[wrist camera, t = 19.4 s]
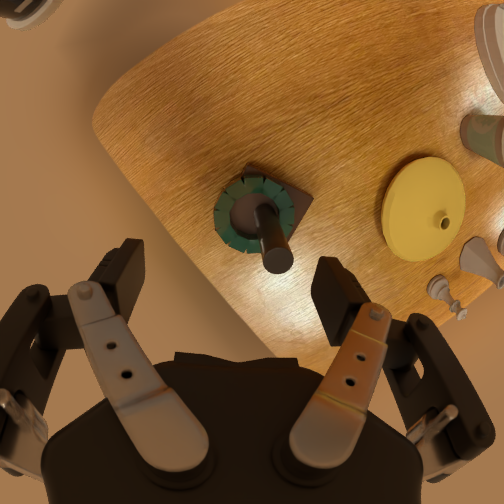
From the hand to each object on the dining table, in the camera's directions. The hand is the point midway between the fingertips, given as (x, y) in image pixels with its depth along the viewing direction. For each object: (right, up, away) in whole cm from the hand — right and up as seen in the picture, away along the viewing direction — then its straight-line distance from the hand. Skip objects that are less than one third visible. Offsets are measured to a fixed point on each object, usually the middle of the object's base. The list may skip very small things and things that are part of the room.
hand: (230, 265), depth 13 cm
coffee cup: (+35, +19, +18) cm, 44 cm away
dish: (+48, +36, +10) cm, 61 cm away
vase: (+25, +8, +24) cm, 35 cm away
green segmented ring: (+1, +5, +21) cm, 22 cm away
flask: (+42, 0, +29) cm, 51 cm away
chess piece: (+34, -5, +31) cm, 47 cm away
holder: (+2, +6, +23) cm, 24 cm away
